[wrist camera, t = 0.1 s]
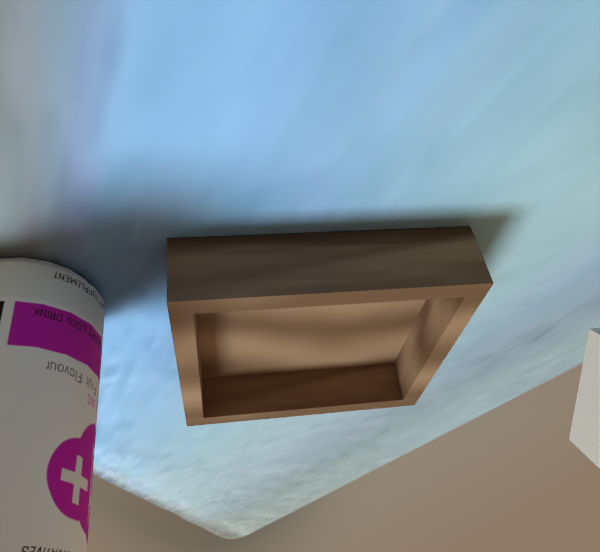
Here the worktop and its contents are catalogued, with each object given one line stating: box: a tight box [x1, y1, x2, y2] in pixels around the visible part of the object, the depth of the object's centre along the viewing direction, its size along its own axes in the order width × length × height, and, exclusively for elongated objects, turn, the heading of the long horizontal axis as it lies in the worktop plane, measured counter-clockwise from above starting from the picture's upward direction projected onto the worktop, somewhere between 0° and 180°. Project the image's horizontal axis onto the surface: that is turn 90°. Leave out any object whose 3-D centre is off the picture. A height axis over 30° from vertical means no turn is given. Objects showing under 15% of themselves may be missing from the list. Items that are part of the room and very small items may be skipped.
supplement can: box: [0, 257, 104, 552], centre depth 28 cm, size 8×8×15 cm
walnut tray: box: [167, 227, 493, 426], centre depth 36 cm, size 16×17×4 cm
